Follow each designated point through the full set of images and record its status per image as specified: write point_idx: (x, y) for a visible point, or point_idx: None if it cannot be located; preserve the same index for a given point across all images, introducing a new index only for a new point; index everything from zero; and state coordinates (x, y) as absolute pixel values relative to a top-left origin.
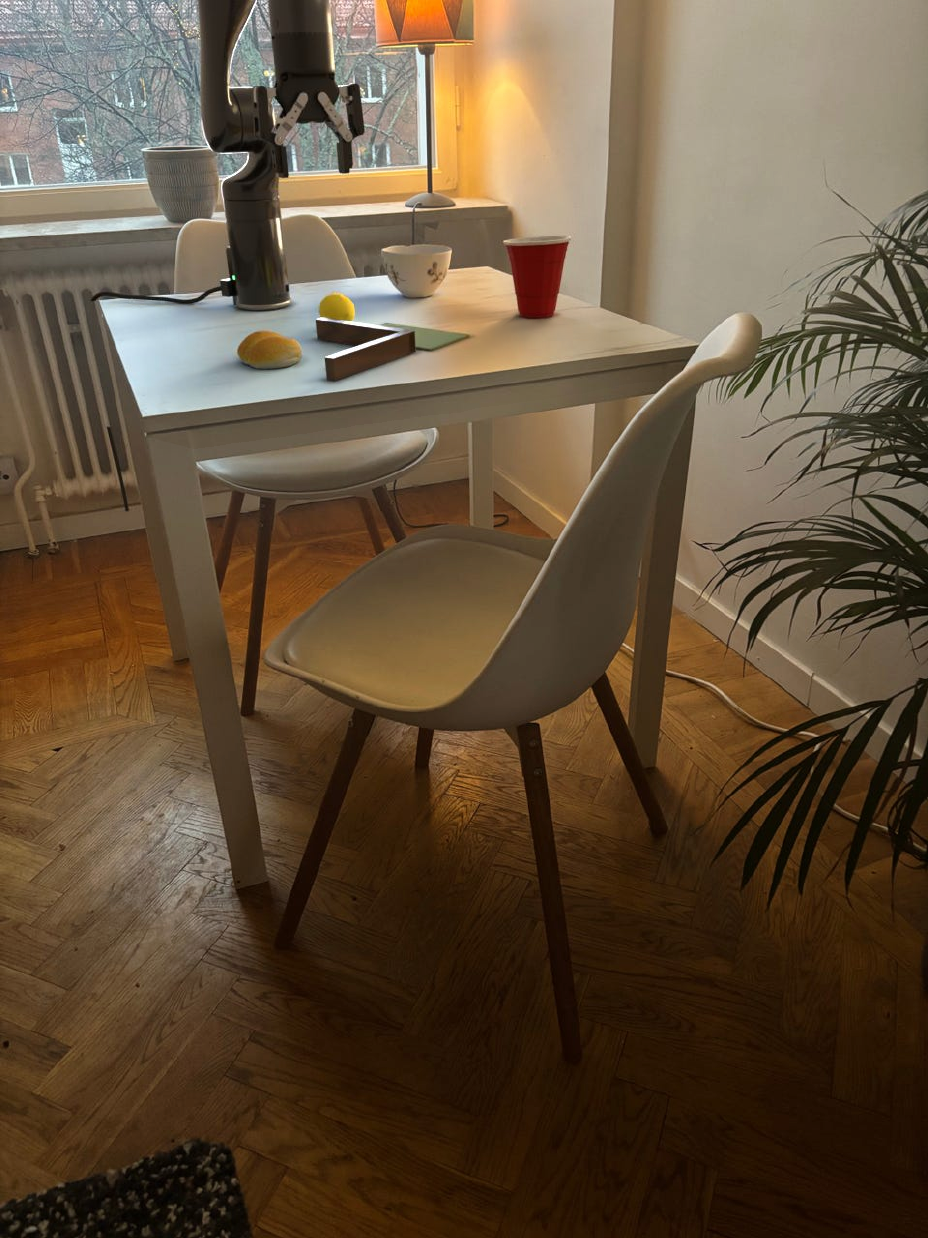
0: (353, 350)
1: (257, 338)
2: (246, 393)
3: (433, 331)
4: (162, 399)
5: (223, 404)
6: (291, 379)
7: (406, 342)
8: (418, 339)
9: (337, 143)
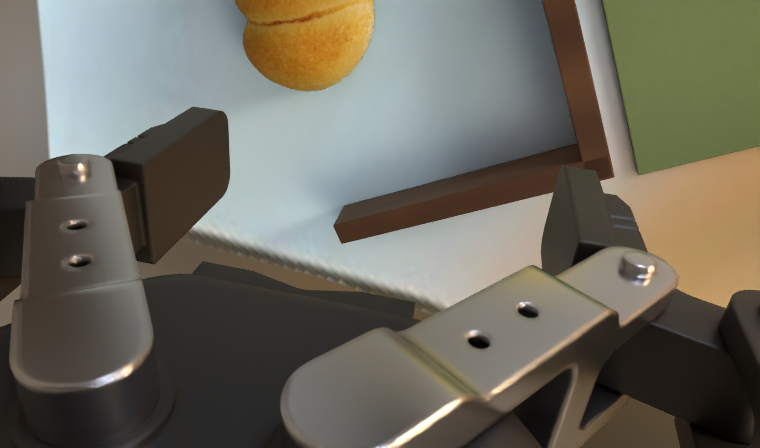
0: (401, 225)
1: (263, 14)
2: None
3: None
4: (72, 117)
5: None
6: (294, 158)
7: None
8: (692, 81)
9: (571, 254)
